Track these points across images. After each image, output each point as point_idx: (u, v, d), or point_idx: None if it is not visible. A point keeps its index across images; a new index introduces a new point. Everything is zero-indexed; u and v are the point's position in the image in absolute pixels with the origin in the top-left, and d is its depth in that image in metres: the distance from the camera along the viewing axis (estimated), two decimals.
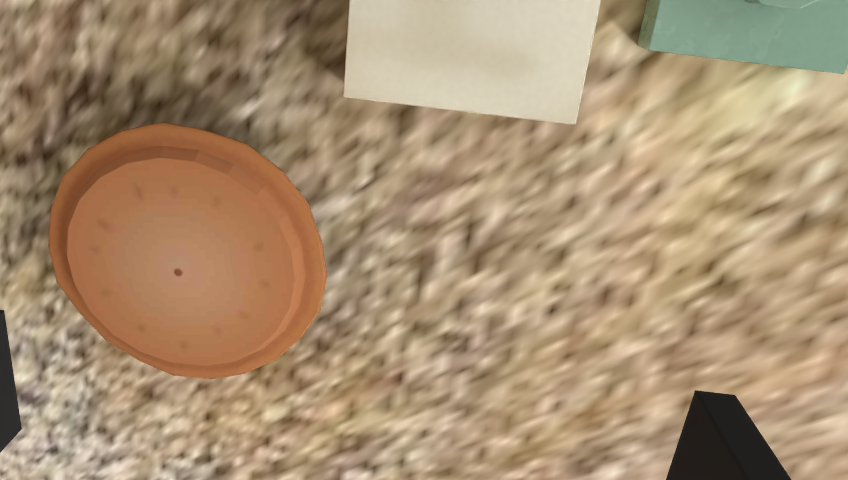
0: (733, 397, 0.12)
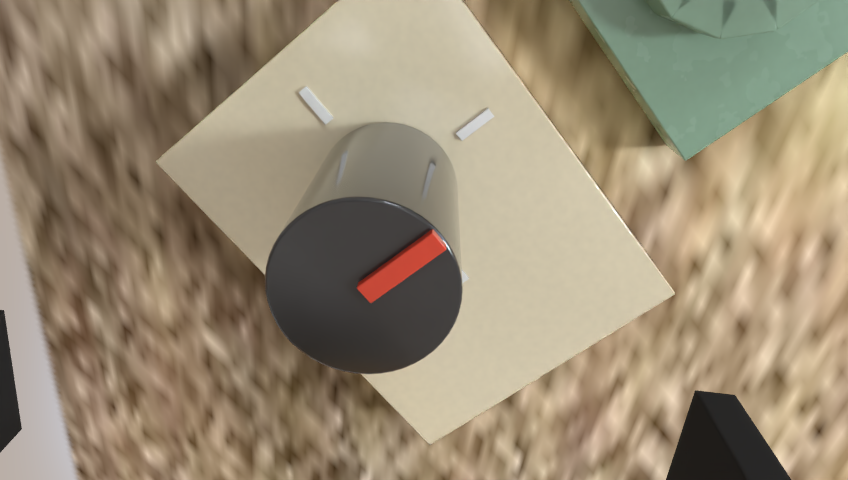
0: (732, 397, 0.12)
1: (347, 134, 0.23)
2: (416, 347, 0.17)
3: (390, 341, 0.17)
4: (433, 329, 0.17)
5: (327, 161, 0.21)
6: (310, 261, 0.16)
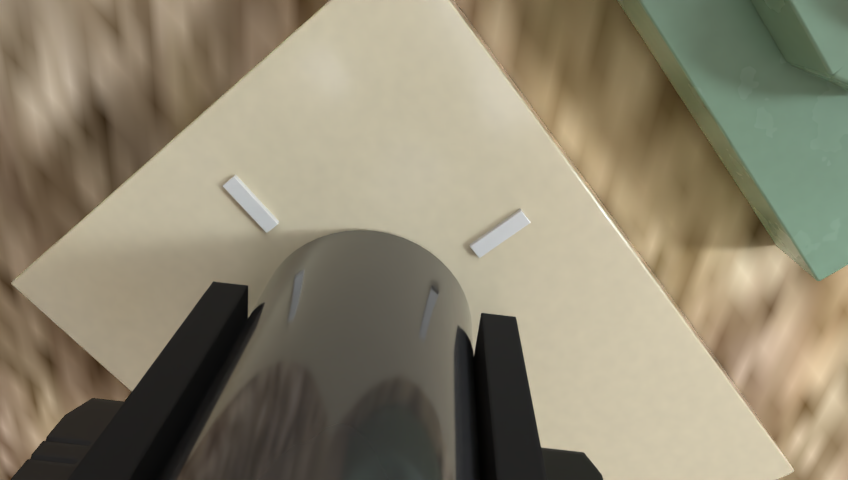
0: (514, 319, 0.14)
1: (301, 248, 0.15)
2: None
3: None
4: None
5: (258, 314, 0.12)
6: None
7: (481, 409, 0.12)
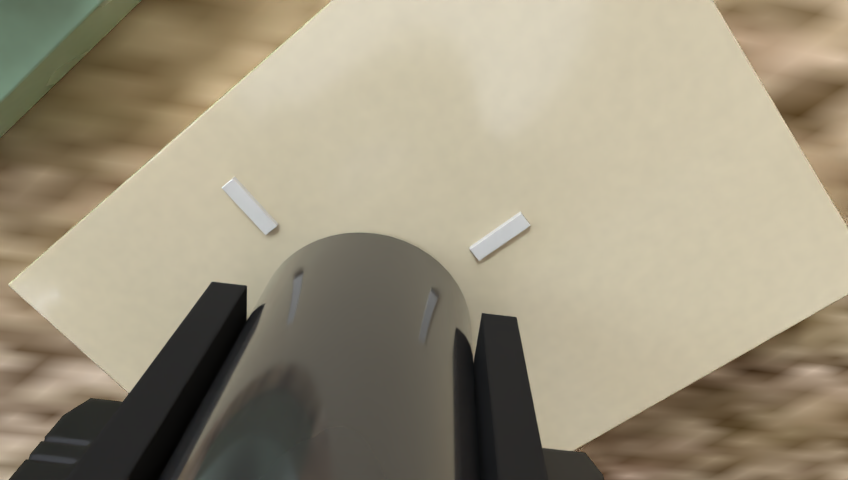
0: (515, 319, 0.14)
1: (300, 250, 0.15)
2: None
3: None
4: None
5: (257, 316, 0.12)
6: None
7: (482, 409, 0.12)
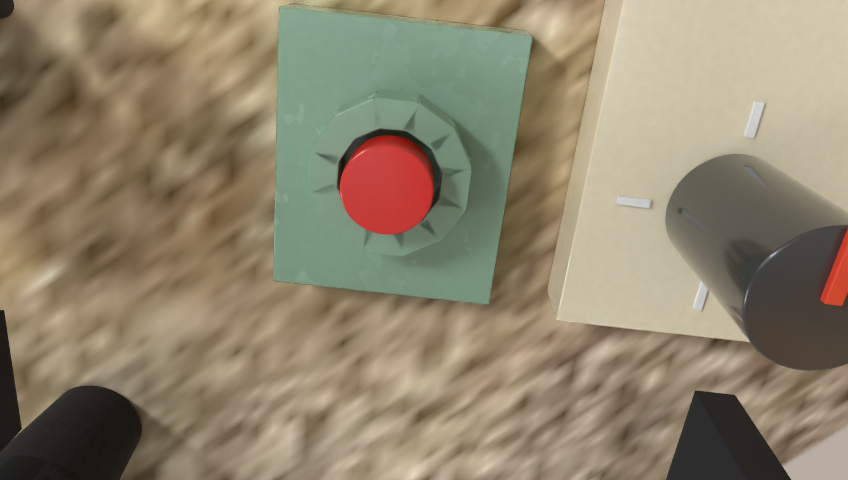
0: (732, 397, 0.12)
1: (669, 201, 0.27)
2: None
3: None
4: None
5: (689, 232, 0.25)
6: (776, 311, 0.20)
7: None
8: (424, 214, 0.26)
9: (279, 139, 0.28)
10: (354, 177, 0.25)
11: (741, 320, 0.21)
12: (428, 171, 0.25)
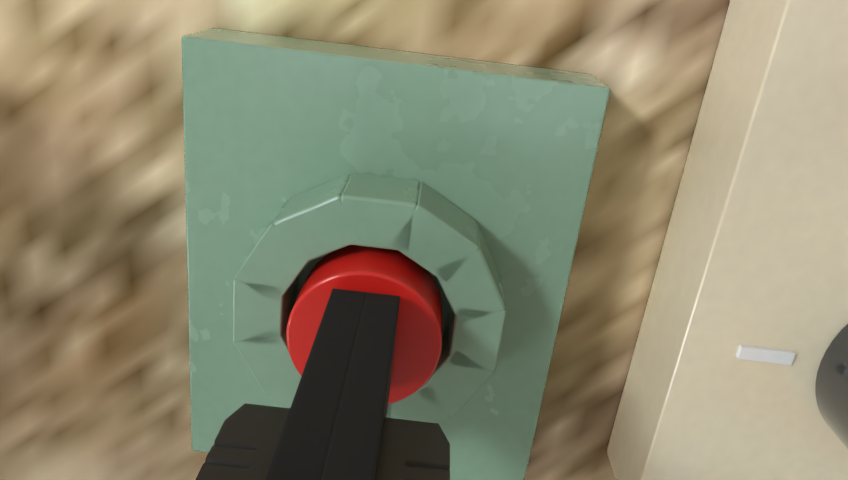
0: (399, 298, 0.15)
1: (827, 356, 0.17)
2: None
3: None
4: None
5: None
6: None
7: None
8: (426, 378, 0.16)
9: (191, 247, 0.17)
10: (310, 320, 0.15)
11: None
12: (433, 312, 0.15)
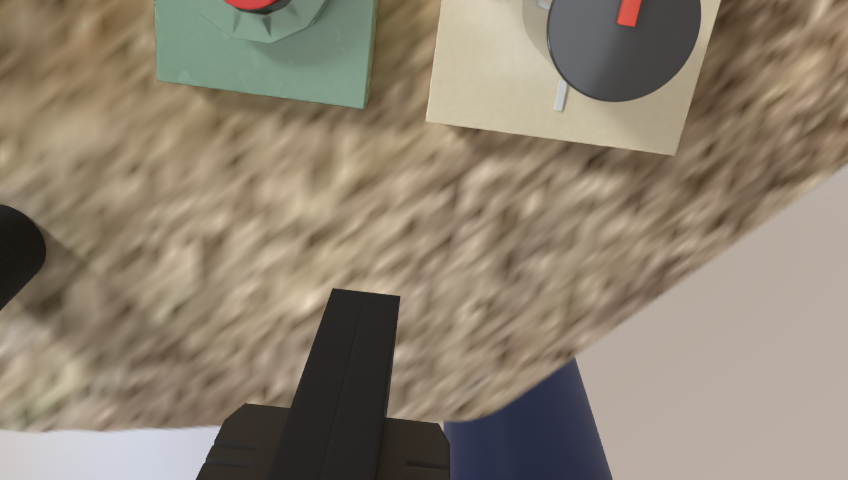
0: (399, 298, 0.15)
1: None
2: (686, 34, 0.22)
3: (666, 45, 0.22)
4: (688, 12, 0.21)
5: (530, 5, 0.26)
6: (577, 35, 0.22)
7: None
8: None
9: None
10: None
11: (547, 48, 0.22)
12: None
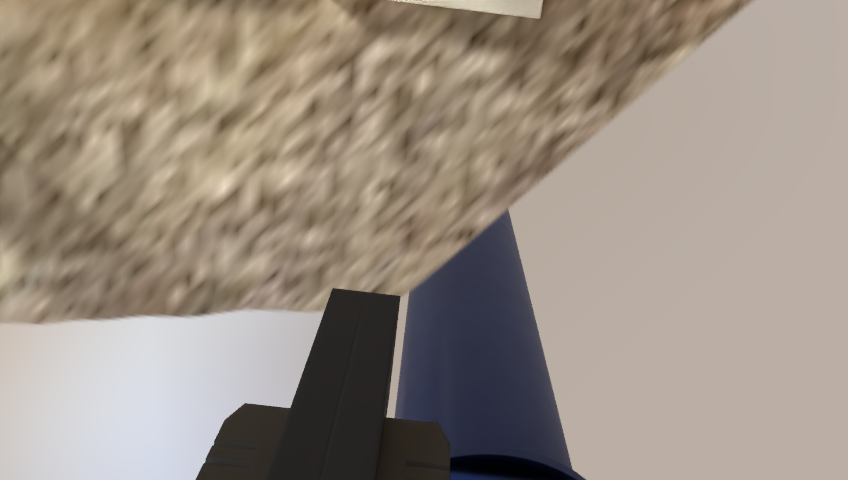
0: (399, 298, 0.15)
1: None
2: None
3: None
4: None
5: None
6: None
7: None
8: None
9: None
10: None
11: None
12: None
